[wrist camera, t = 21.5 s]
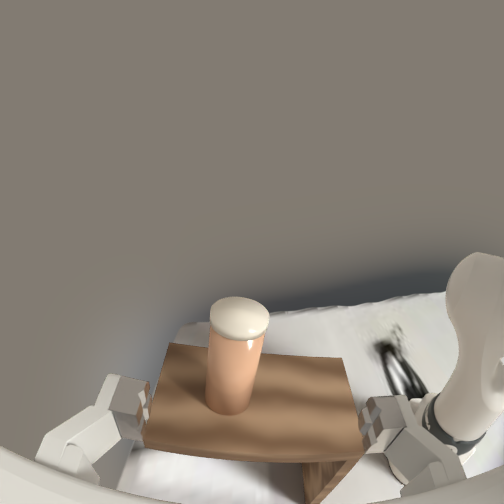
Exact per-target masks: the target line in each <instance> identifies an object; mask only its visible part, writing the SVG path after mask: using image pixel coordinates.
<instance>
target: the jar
mask: <svg viewBox="0 0 504 504" xmlns="http://www.w3.org/2000/svg"><path fill="white" fill-rule="evenodd" d="M268 322H269V313H268V311H267V310H266V308H265V307H264V306H263V305H261V304H260V303H258V302H256V301H254V300H251V299H248V298H243V297H227V298H223V299H220V300H218V301H217V302H215V303H214V304H213V305H212V307H211V312H210V336H209V348H208V361H207V374H206V388H205V401H206V404H207V405H208V407H209V408H210V409H211V410H213V411H214V412H216V413H218V414H221V415H227V416H232V415H237V414H240V413H242V412H244V411H245V410H246V409H247V408H248V406H249V403H250V399H251V395H252V390H253V386H254V381H255V377H256V372H257V368H258V363H259V359H260V354H261V350H262V345H263V340H264V336H265V332H266V330H267V327H268Z"/></svg>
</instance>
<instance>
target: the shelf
mask: <svg viewBox="0 0 504 504" xmlns="http://www.w3.org/2000/svg"><path fill="white" fill-rule="evenodd" d="M207 361H208V348H206V347H198V346H190V345H183V344H176V343H169V346H168V349H167V353H166V356H165V359H164V363H163V366H162V370H161V373H160V377H159V380H158V384H157V387H156V391H155V395H154V398H153V402H152V406H151V413H150V417H149V419H148V420H147V424H146V427H147V429H146V432H145V436H144V440H143V442H144V445H145V448H149V449H154V450H159V451H165V452H171V453H177V454H183V455H190V456H198V457H206V458H215V459H225V460H237V461H253V462H283V463H301V462H302V472H303V483H304V494H305V504H320V503H321V501H322V500H323V499H324V498H325V497H326V496H327V495H328V494H329V493H330V492H331V491H332V490H333V489H334V488H335V487H336V486H337V485H338V484H339V482H340V481H341V480H342V479H343V478H344V477H345V476H346V475H347V473H348V472H349V471H350V470H351V469H352V468H353V467H354V465H355V464H356V463H357V462H358V461H359V459H360V458H361V457H362V456H363V455H364V453H365V452H364V448H363V444H362V439H363V436H362V433H361V432H360V431H359V428H358V416H357V412H356V408H355V404H354V400H353V397H352V393H351V389H350V385H349V382H348V378H347V375H346V371H345V367H344V364H343V360H342V358H330V357H307V356H290V355H276V354H263V353H261V354H260V359H259V363H258V368H257V372H256V377H255V381H254V386H253V390H252V395H251V399H250V403H249V406H248V408H247V409H246V410H245V411H244V412H242V413H240V414H237V415H232V416H227V415H221V414H218V413H216V412H214V411H213V410H211V409H210V408H209V407H208V405H207V404H206V401H205V388H206V374H207Z"/></svg>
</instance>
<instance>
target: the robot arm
mask: <svg viewBox="0 0 504 504" xmlns="http://www.w3.org/2000/svg"><path fill="white" fill-rule="evenodd" d="M445 299H446V309H447V314H448V316H449V319H450V320H451V322H452V324H453V326H454V329H455V331H456V335H457V338H458V345H459V355H458V360H457V364H456V367H455V369H454V371H453V373H452V375H451V377H450V379H449V381H448V382H447V384H446V385H445V387H444V388H443V390H442V392H440V393H439V394H437V393H429V394H426V395H425V396H424V397H423V399H411V400H410V401H408V399H407V397H406V396H405V395H398V396H379V397H370V398H369V399H368V400H367V402H366V405H367V407H365V408H364V409H362V410H361V412H360V414H359V418H358V428H359V431H360V432H361V433H362V434H363V435H364V437H363V439H362V444H363V448H364V452H365V454H370V453H382V452H384V454H385V456H386V457H387V458H388V461H389V465H390V467H391V470H392V472H393V473H394V475H395V476H396V477H397V478H398V479H399V480H400V481H401V482H402V483H403V484H405V486H404V487H403V488H402V489H401V490H400V494H401V498H396V499H391V500H386V501H380V502H374V503H368V504H504V465H502V466H500V467H497V468H495V469H492V470H490V471H487V472H485V473H482V474H479V475H477V476H474V477H471V478H468V479H467V478H466V475H465V472H464V470H463V467H462V465H463V464H464V463H465V462H466V461H467V460H468V459H469V458H470V456H471V455H472V454H473V453H474V451H475V446H476V445H477V444H478V443H479V442H480V441H481V439H482V438H483V437H484V435H485V434H486V431H487V430H488V428H489V427H490V426H491V425H492V424H493V423H494V422H495V421H496V419H497V418H498V417H499V416H500V415H501V414H502V412H503V411H504V365H503V363H502V361H501V359H502V358H503V357H504V258H501V257H497V256H494V255H489V254H484V253H479V252H475V253H473V254H471V255H469V256H467V257H466V258H465V259H463V260H462V261H461V262H460V263H459V264H458V265H457V267H456V268H455V269H454V271H453V273H452V274H451V277H450V279H449V282H448V285H447V289H446V298H445ZM149 389H150V385H149V382H147V381H143V380H138V379H134V378H129V377H125V376H121V375H116V374H111V373H109V374H108V375H107V376H106V378H105V381H104V383H103V385H102V388H101V390H100V392H99V395H98V397H97V400H96V402H95V404H94V406H89V407H87V408H86V409H84V410H82V411H81V412H79V413H78V414H76V415H75V416H73V417H72V418H70V419H68V420H67V421H65V422H64V423H62V424H61V425H59V426H58V427H56V428H54V429H53V430H51V431H50V432H48V433H47V434H45V436H44V439H43V441H42V443H41V445H40V448H39V450H38V452H37V455H36V457H35V459H34V461H32V460H29V459H27V458H25V457H23V456H21V455H19V454H17V453H14V452H12V451H10V450H8V449H6V448H4V447H2V446H0V504H180V503H174V502H168V501H162V500H157V499H152V498H147V497H143V496H138V495H134V494H130V493H126V492H122V491H118V490H114V489H110V488H107V487H103V486H100V485H99V482H100V478H99V476H98V474H97V473H96V471H95V470H94V468H93V466H92V464H93V463H94V462H96V461H97V460H98V459H99V458H100V457H101V456H102V455H104V453H106V452H107V451H108V450H109V449H110V448H111V447H112V446H114V445H115V444H116V443H117V442H118V441H119V440H120V439H121V438H127V439H131V440H136V441H141V442H143V440H144V436H145V432H146V429H147V427H146V422H145V421H146V420H147V419H149V417H150V413H151V406H152V397H151V394H150V393H149Z"/></svg>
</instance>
